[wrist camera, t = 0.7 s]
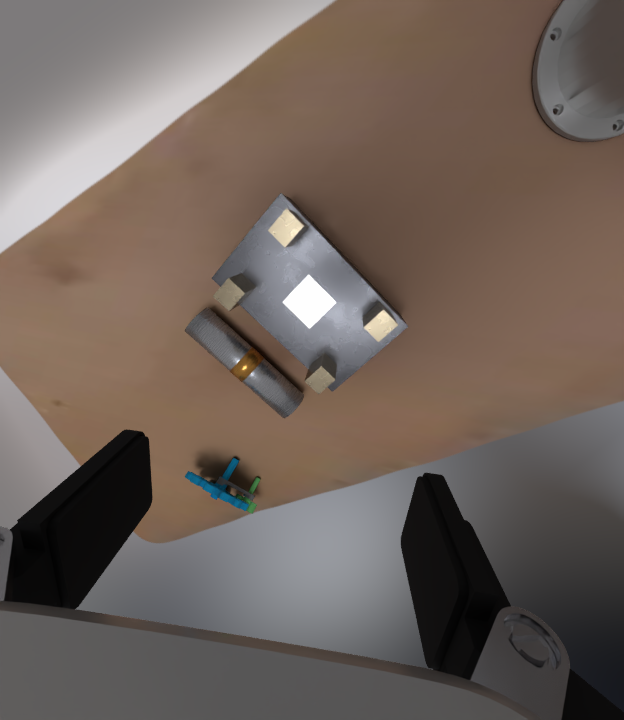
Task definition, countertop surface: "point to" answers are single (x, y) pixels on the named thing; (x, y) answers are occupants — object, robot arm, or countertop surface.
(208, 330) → the tube
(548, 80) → the robot arm
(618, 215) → the countertop surface
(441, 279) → the countertop surface
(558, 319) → the countertop surface
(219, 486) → the gear
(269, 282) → the grey plate with feet
